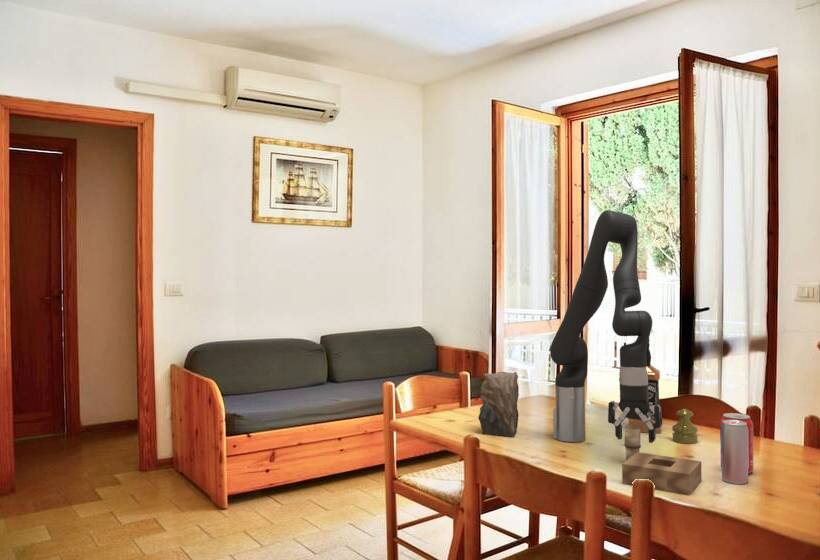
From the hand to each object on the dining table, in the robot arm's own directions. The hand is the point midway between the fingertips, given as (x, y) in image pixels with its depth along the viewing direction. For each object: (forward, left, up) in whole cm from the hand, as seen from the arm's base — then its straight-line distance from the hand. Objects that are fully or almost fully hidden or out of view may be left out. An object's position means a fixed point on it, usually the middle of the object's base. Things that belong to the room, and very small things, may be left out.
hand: (635, 440), depth 182 cm
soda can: (+24, +8, -7) cm, 26 cm away
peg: (-1, 0, -7) cm, 7 cm away
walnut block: (+10, -12, -7) cm, 17 cm away
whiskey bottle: (-10, +43, -7) cm, 44 cm away
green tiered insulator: (+5, +34, -7) cm, 35 cm away
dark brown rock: (-48, +12, -7) cm, 49 cm away
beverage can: (+25, -1, -7) cm, 26 cm away
